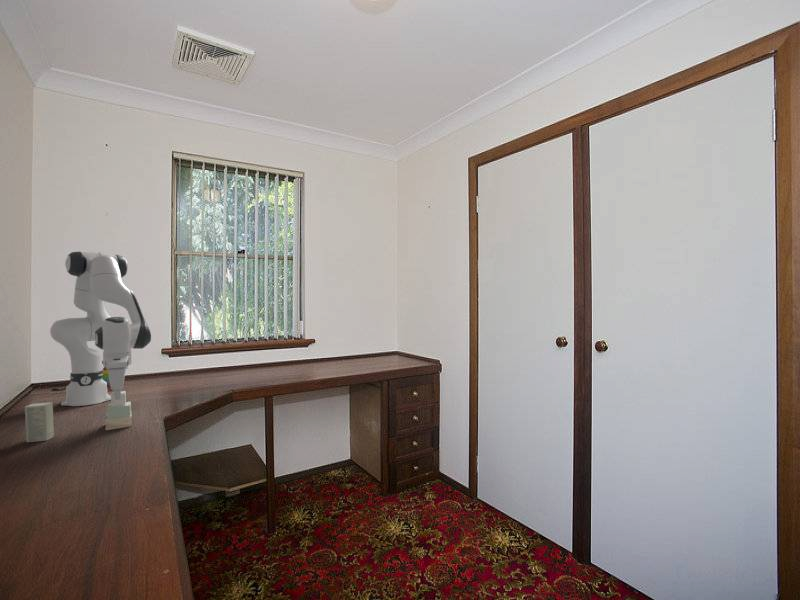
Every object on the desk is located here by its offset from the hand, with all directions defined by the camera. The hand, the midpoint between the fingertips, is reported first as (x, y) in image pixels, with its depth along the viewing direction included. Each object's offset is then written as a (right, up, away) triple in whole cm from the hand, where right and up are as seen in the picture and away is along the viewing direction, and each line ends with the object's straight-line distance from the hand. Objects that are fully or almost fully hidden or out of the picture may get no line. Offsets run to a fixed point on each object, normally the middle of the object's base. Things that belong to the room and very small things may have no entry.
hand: (118, 397), depth 157 cm
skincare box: (-16, -11, -15) cm, 25 cm away
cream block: (0, -3, 0) cm, 3 cm away
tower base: (0, -11, 0) cm, 11 cm away
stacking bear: (-46, -10, +62) cm, 78 cm away
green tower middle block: (0, -7, 0) cm, 7 cm away
